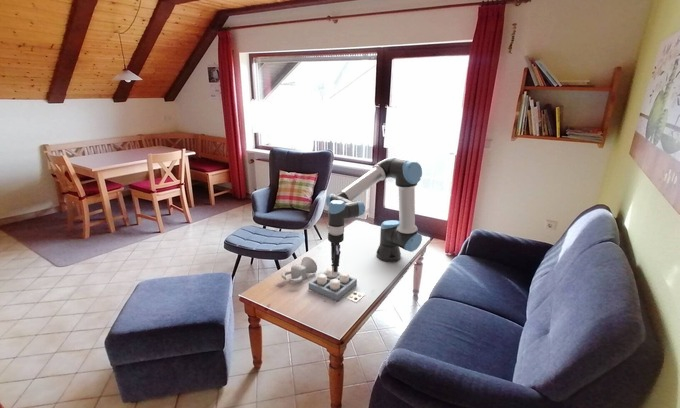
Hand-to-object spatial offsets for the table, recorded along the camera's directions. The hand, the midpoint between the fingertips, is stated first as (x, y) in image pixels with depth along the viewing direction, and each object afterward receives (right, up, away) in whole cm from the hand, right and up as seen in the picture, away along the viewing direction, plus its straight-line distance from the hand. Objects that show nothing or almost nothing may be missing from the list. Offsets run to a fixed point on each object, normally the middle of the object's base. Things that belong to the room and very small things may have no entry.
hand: (334, 276), depth 169 cm
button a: (0, -7, +2) cm, 7 cm away
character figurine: (-19, -5, +18) cm, 27 cm away
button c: (+5, -5, +9) cm, 11 cm away
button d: (-2, -3, +13) cm, 14 cm away
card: (+10, -11, +1) cm, 15 cm away
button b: (-7, -5, +7) cm, 11 cm away
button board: (-1, -8, +9) cm, 12 cm away
